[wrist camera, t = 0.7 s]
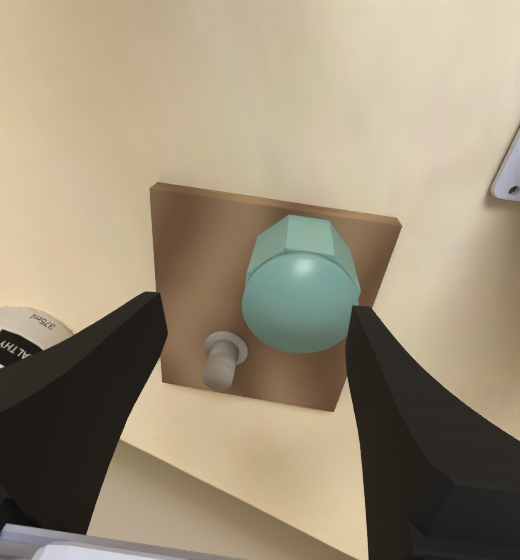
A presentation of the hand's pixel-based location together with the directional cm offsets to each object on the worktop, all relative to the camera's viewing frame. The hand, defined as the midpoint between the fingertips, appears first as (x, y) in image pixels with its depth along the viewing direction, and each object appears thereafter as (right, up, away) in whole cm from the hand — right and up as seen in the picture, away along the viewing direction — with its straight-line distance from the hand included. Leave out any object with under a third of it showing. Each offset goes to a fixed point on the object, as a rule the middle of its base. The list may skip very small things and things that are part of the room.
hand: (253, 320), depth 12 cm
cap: (+3, +3, +7) cm, 8 cm away
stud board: (0, -1, +11) cm, 11 cm away
